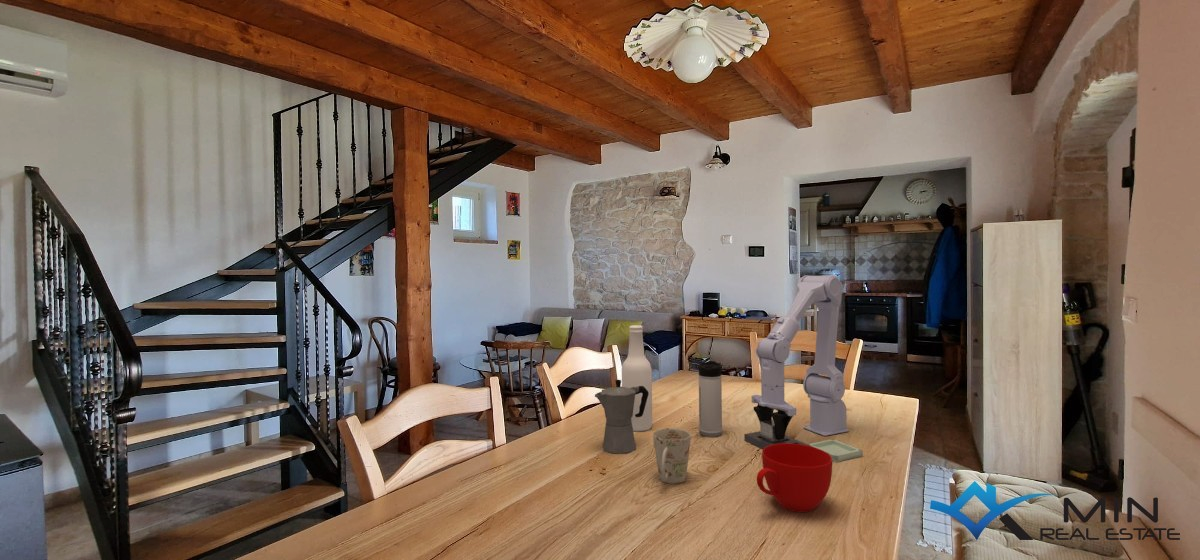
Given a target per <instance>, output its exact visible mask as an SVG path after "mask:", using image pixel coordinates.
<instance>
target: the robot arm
mask: <svg viewBox="0 0 1200 560" xmlns="http://www.w3.org/2000/svg"><path fill="white" fill-rule="evenodd" d="M796 286H797V293H796V296H795V297H794V300H793V301H792V304H791V306H790V308H789V309H788V311H787V312H786V315H782V316H779V317H778V319H777V321H776V323H775V324H774V326H773V327H772V329H771V330H770V332H769V333H768V335H767V336H766V337H763V338H762V339H761V340H759V342H758V343H757V347H756V348H755V353H756V356H757V358H758V364H759V366H760V367H761V368H760V372H761V373H760V375H761V376H760V377H761V382H760V383H761V388H760V389H761V390H760V391H761V395H759V394H753V395H751V403H752V404H757V405H756V406H753V411H754V412H755V415H756V417H757V418H758V421H759V423H760V421H766V420H772V419H773V421H774V425H775V436H776V439H777V440H781V439H784V437H785V433H786V434H787V429H788V426H789V424H790V422H791V420H792V419H793V417H794V416H797V407H796V406H794V405H791V404H789V403H788V402H787V401H785V361H787V359H788V358H789V356H790V353H791V352H790V351H791V347H792V344H791V343H792V341H793V340H794V338H795V337H796V335H797V333H798V332H799V330H800V324H799V322H800V321H801V319H802V317H803V316H804V315H805V313H807V311H808V310H809V309H810V307H811V306H812V305H814V306H815V307H816V308H817V309H818V312H817V313H818V314H817V324H816V338H815V339H816V340H815V352H814V353H815V354H814V364H812V365H811V366H809V367H808V368H806V372H805V373H806V374H805V377H804V379H803V382H802V387H803V391H804V393H805V394H806V395H807V398H808V399H809V425H804V426H803V427H802V428H803V429H806V430H808V431H811V432H813V433H816V434H818V435H821V436H824V437H826V436H831V435H835V434H841V433H846V432H849V431H850V429H849V428H847V405H846V403H845V401H844V400H842V398H844V395H845V393H846V387H845V386H846V385H845V383H844V374H843V372H842V371H841V370H839V369H838V368H837V367H836V366H835V365H836V354H837V352H836V351H837V338H838V326H839V325H838V324H839V312H840V310H839V309H840V307H841V305H842V298H843V295H842V294H843V284H842V282H841V280H840V279H839V277H838V276H837V275H835V274H834V275H809V274H808V275H807V274H806V275H805V274H804V275H803V276H802V277H800V279H799V282H798V283H797V285H796ZM774 411H776V412H774Z"/></svg>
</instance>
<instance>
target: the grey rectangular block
mask: <svg viewBox="0 0 1200 560" xmlns="http://www.w3.org/2000/svg"><path fill="white" fill-rule="evenodd" d="M759 425H760V427H759V428H760V430H759V431H760V433H761V439H763V440H765V441H767V442H769V443H772V444H773V443H779V442H784V441H786V436H787V432H786V433H785V437H784V439H781V440H777V439H776V436H775V425H774V421H773V418H772V420H766V421H760V422H759Z"/></svg>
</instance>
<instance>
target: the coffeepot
mask: <svg viewBox="0 0 1200 560" xmlns="http://www.w3.org/2000/svg"><path fill="white" fill-rule="evenodd" d="M639 393H642V394H643V395H642V398H641V404H640V406H639V413H638V414H635V417H641V416H642V415H643V412H644V409H645V405H646V402H647V398H648V395H649V393H648V390H647V389H646V388H645V387H644V386H638V387H631V388H626V387H622V379H615V386H612V387H608V388H604V389H601V391H599V392H597V393H595V394H594V398H596V399H597V400H598V401H599V403H600V404H601V406H602V408H603V410H604V417H605V427H604V434H603V435H604V436H603V441H602V450H603V451H604V452H606V453H609V454H614V455H623V454H630V453H632V452H634V451H636V449H637V446H636V440H635V433H634V431H633V427H632V422H631V417H632V416H633V408H634V400H635V395H636V394H639Z"/></svg>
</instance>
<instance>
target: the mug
mask: <svg viewBox="0 0 1200 560" xmlns="http://www.w3.org/2000/svg"><path fill="white" fill-rule="evenodd" d="M652 435H653V436H652V437H653V444H654V445H653V446H654V451H655V459H656V465H657V466H656V467H657V473H658V474H657V475H658V479H659V480H660V481H661V482H663V483H667V484H680V483H683V482H685V481H686V479H687V476H688V475H687V473H688V465H689V464H688V463H689V456H690V449H691V447H690V446H691V439H692V435H691V433H690V432H689V431H687V430H685V429H682V428H674V427H673V428H672V427H671V428H670V427H668V428H667V427H665V428H660V429H657V430H655V431H654V432H653V433H652Z"/></svg>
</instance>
